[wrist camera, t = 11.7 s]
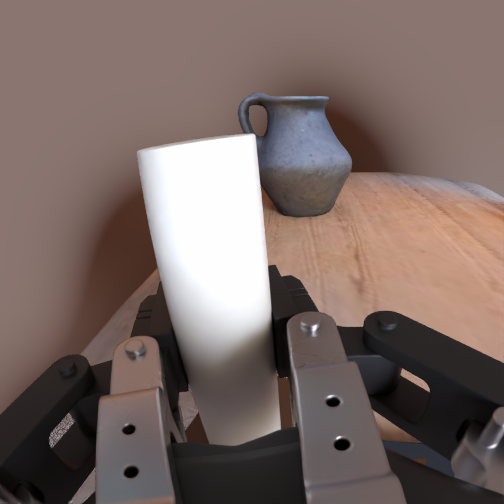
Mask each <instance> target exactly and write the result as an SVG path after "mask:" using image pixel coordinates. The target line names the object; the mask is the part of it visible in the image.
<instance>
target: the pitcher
mask: <svg viewBox="0 0 504 504" xmlns="http://www.w3.org/2000/svg"><path fill="white" fill-rule="evenodd" d="M328 101H329V98H328V97H323V96H311V97H307V96H281V97H273V96H268V95H266V94H263V93H253V94H251V95H249V96H248V97H247V98H245V99H244V100H243V101H242V102H241V104H240V106H239V109H238V116H239V122H240V125H241V128H242V130H243V132H244V134H251V133H252V134H255V133H254V131H253V129H252V127H251V124H250V121H249V107H250V106H251V105H260V106H263V107H264V108H265V109H266V111H267V118H268V119H267V120H268V123H267V130H266V133H265V135H264V136H261V137H259V136H257V135H256V134H255V136H256V146H257V156H258V166H259V176H260V185H261V186H262V188H263V189H264V191H265V192H266V194H267V195H268V196H269V198H270V199H271V200H272V202H273V203H274V205H275V206H276V208H277V209H278V210H279V212H280V213H281V214H282V215H285V216H293V217H304V216H318V215H322V214H325V213H327V212H329V211H330V210H331V208H332V207H333V206H334V204H335V201H336V199H337V197H338V195H339V193H340V191H341V189H342V187H343V185H344V183H345V181H346V179H347V178H348V176H349V173H350V172H351V167H352V160H351V157H350V155H349V154H348V152H347V151H346V150H345V148H344V147H343V146H342V145H341V143H340V142H339V141H338V139H337V138H336V136H335V134H334V133H333V131H332V129H331V127H330V125H329V123H328V121H327V119H326V116H325V106H326V105H327V103H328Z"/></svg>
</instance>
